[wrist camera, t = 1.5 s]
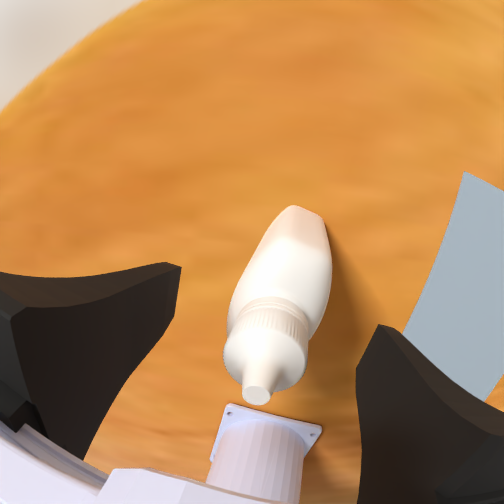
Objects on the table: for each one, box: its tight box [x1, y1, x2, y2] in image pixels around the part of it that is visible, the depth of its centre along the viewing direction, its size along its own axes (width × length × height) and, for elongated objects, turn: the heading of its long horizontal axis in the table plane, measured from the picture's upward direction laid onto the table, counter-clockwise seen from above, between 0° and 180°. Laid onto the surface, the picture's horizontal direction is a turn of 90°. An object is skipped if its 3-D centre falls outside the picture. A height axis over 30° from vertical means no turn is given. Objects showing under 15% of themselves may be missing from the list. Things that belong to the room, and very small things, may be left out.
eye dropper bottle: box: [223, 205, 332, 405], centre depth 13 cm, size 4×6×12 cm
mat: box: [402, 171, 504, 402], centre depth 17 cm, size 16×12×1 cm
